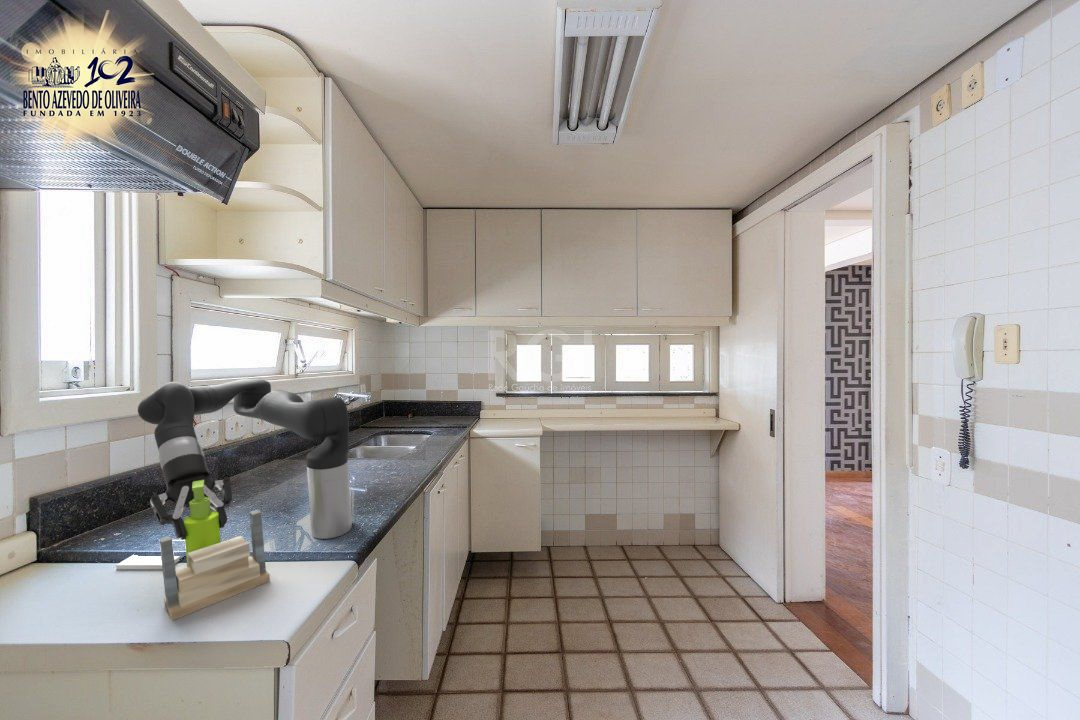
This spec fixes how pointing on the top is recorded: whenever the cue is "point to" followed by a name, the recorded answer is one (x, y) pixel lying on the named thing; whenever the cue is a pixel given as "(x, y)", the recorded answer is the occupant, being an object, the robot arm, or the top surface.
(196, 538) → the soap dispenser
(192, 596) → the offcut rack
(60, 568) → the top surface
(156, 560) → the pad
